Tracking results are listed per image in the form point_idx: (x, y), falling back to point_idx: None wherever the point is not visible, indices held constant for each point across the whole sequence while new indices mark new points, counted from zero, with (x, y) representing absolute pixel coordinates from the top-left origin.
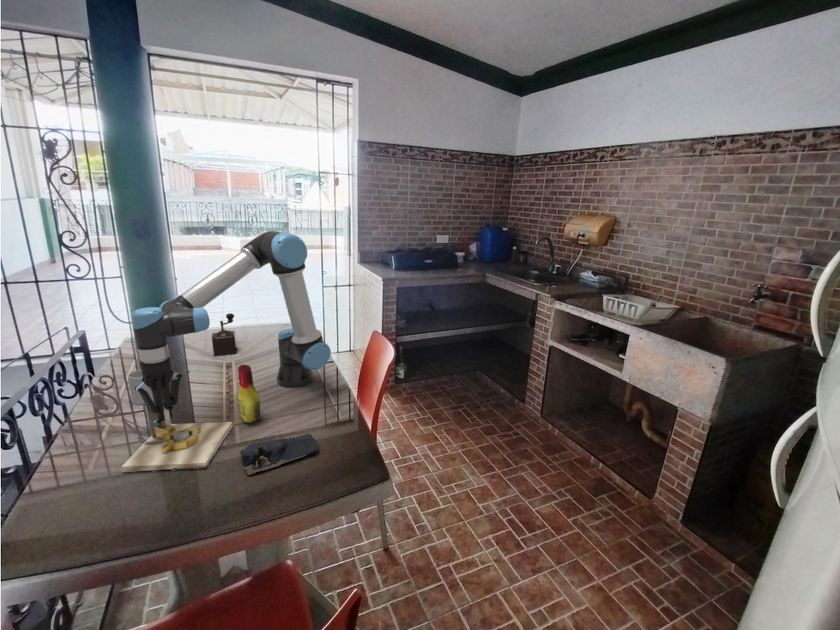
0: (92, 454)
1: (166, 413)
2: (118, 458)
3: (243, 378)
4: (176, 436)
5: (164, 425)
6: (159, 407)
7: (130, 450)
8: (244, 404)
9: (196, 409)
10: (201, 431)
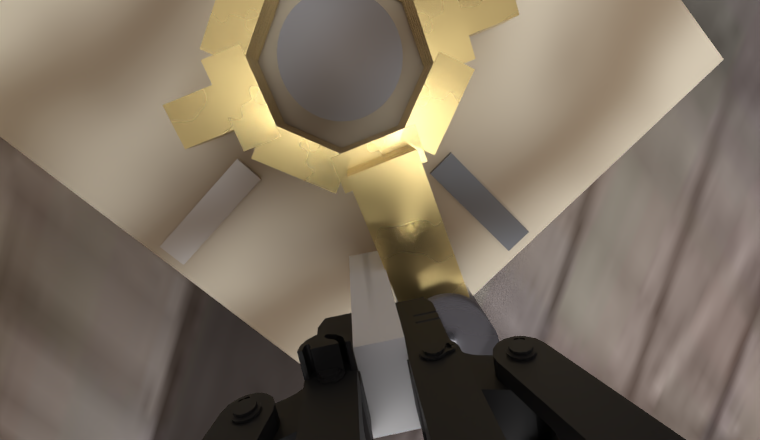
0: (684, 374)
1: (382, 323)
2: (631, 242)
3: None
4: (387, 32)
5: (406, 263)
6: (473, 384)
7: (559, 281)
8: None
9: None
10: None
